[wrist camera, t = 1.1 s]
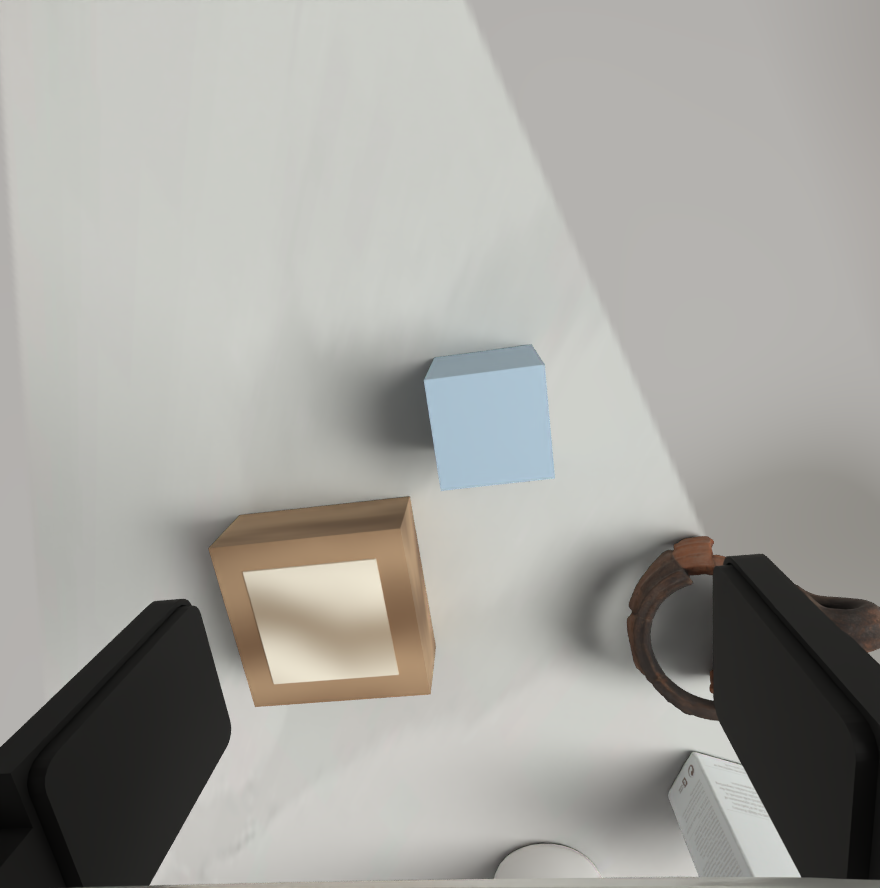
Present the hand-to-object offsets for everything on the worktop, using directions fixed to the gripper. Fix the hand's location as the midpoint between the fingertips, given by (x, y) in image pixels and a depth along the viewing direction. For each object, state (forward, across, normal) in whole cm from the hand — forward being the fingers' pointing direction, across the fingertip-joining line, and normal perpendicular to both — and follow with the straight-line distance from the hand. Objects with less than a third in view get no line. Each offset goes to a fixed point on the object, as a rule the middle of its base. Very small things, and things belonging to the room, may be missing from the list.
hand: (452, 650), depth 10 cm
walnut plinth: (+21, +9, +10) cm, 25 cm away
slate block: (+21, -1, 0) cm, 21 cm away
